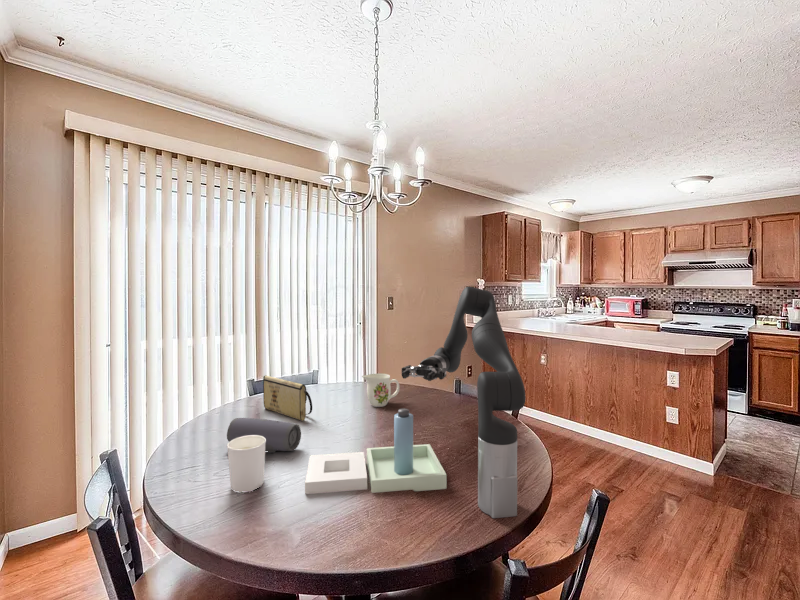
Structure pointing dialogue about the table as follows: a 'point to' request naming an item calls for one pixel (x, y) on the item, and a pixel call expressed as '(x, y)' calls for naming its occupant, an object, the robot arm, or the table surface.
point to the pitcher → (380, 389)
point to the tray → (422, 478)
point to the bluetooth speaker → (267, 432)
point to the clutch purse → (285, 397)
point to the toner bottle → (403, 442)
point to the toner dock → (336, 473)
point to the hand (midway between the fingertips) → (416, 376)
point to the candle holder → (246, 462)
